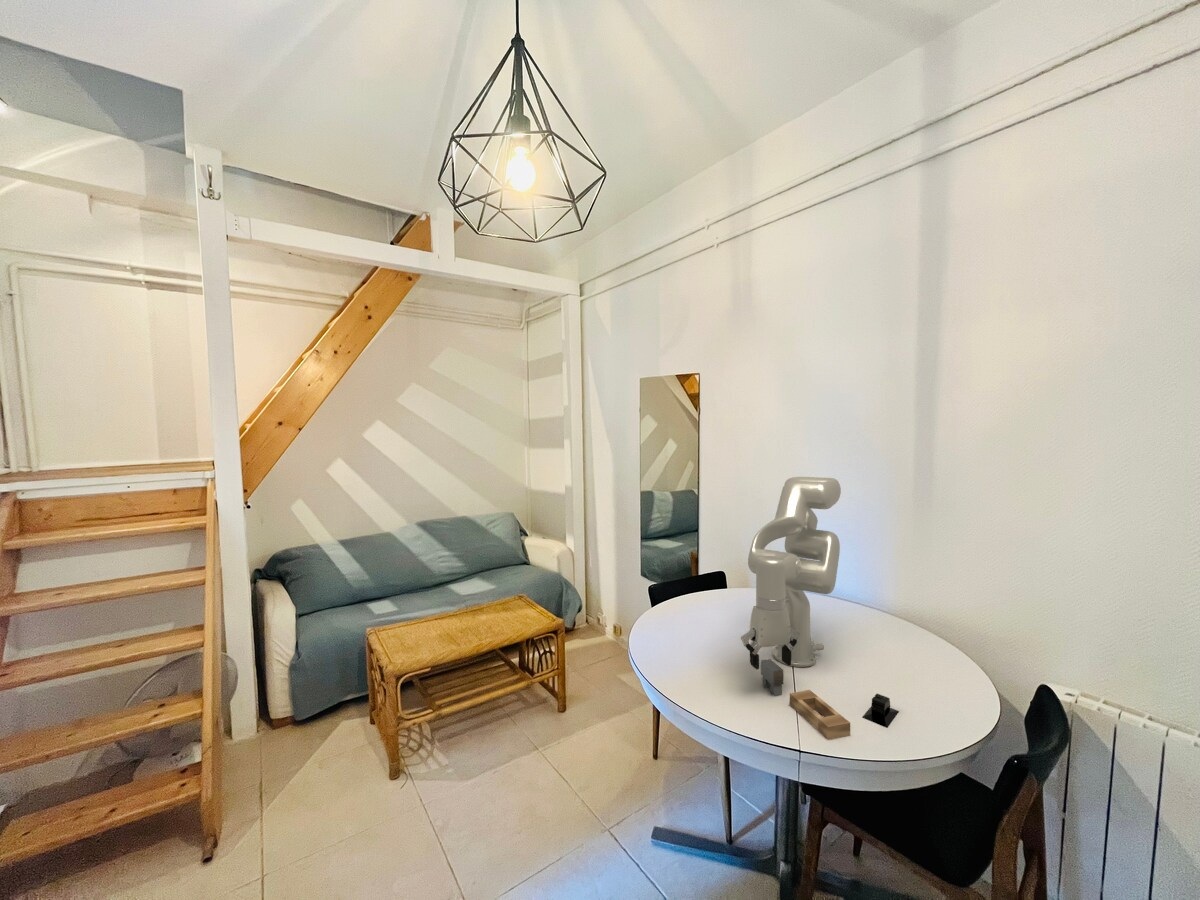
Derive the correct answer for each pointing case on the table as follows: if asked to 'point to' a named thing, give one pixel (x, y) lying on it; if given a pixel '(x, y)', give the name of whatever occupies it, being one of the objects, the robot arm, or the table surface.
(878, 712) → the black stepped block
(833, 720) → the slotted wooden block
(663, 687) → the table surface
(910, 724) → the table surface
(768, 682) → the clip
